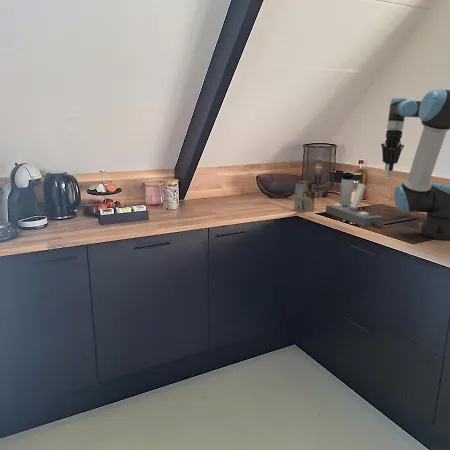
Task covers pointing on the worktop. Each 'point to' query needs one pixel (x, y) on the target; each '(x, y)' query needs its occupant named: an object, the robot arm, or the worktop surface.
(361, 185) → the middle rocker lever
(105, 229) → the worktop surface
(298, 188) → the coffee box
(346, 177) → the travel mug
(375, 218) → the power strip
